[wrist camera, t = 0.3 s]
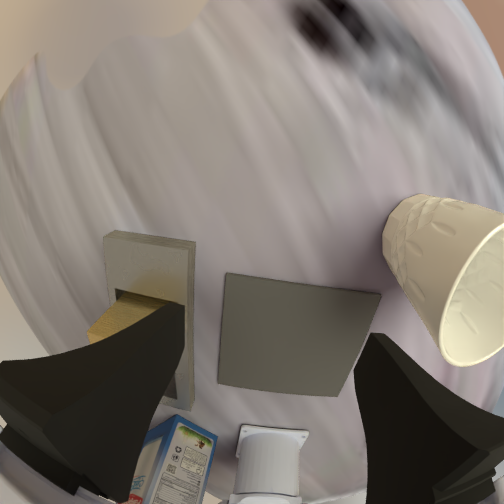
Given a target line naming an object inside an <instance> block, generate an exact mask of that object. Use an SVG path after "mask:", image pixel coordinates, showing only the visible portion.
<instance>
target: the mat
mask: <svg viewBox="0 0 504 504" xmlns="http://www.w3.org/2000/svg"><path fill="white" fill-rule="evenodd" d="M380 298H381V294H377V293H369V292H361V291H353V290H345V289H337V288H330V287H322V286H315V285H308V284H301V283H294V282H287V281H280V280H273V279H266V278H259V277H253V276H246V275H240V274H233V273H227V274H226V284H225V296H224V308H223V320H222V333H221V346H220V360H219V375H218V384H223V385H228V386H234V387H240V388H246V389H253V390H260V391H268V392H276V393H286V394H296V395H309V396H328V397H338V395H339V393H340V391H341V389H342V387H343V385H344V383H345V381H346V379H347V377H348V375H349V373H350V371H351V369H352V367H353V364H354V362H355V360H356V358H357V356H358V353H359V351H360V349H361V347H362V344H363V342H364V340H365V337H366V335H367V332H368V330H369V327H370V325H371V322H372V320H373V317H374V315H375V312H376V309H377V307H378V304H379V301H380Z"/></svg>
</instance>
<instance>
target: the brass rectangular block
mask: <svg viewBox="0 0 504 504" xmlns="http://www.w3.org/2000/svg"><path fill="white" fill-rule="evenodd" d="M169 302H172V303H177V304H178V302H174V301H169V300H164V299H160V298H155V297H151V296H146V295H142V294H137V293H133V292H129V291H126V292H125V293H124V294H123V295H122V296H121V297H120V298H119V299H118V300H117V301H116V302H115V303H114V304H113V305H112V306H111V307H110V308H109V309H108V310H107V311H106V312H105V313H104V314H103V315H102V316H101V317H100V318H99V319H98V320H97V321H96V322H95V324H94V325H93V326H92V327H91V328H90V329H89V330H88V331H87V334H88V338H89V342H90V344H93V343H95V342H98V341H100V340H103V339H105V338H107V337H109V336H111V335H113V334H115V333H117V332H119V331H121V330H123V329H125V328H127V327H129V326H131V325H132V324H134V323H136V322H138V321H139V320H141V319H143V318H144V317H146V316H148V315H149V314H151V313H153V312H154V311H156V310H157V309H159V308H161V307H162V306H164V305H166V304H167V303H169Z"/></svg>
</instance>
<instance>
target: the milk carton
mask: <svg viewBox="0 0 504 504" xmlns="http://www.w3.org/2000/svg"><path fill="white" fill-rule="evenodd" d="M217 438H218V436H216V435H214V434H212V433H210V432H208V431H206V430H204V429H202V428H200V427H199V426H197V425H195V424H193V423H191V422H190V421H188V420H186V419H184V418H183V417H181V416H179V415H175V416H173V417H172V418H170V419H168V420H167V421H165V422H163V423H162V424H160V425H158V426H157V427H155V428H153V429H151V430H150V431H148V432H147V434H146V437H145V440H144V443H143V446H142V449H141V452H140V455H139V459H138V462H137V466H136V470H135V473H134V477H133V482H132V486H131V491H130V495H129V500H128V501H127V502H124V503H117V502H116V504H202V501H203V497H204V492H205V488H206V484H207V480H208V476H209V472H210V467H211V463H212V459H213V455H214V450H215V446H216V442H217Z"/></svg>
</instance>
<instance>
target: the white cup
mask: <svg viewBox="0 0 504 504" xmlns="http://www.w3.org/2000/svg"><path fill="white" fill-rule="evenodd" d="M382 245H383V256H384V258H385V260H386V262H387V264H388V266H389V268H390V270H391V271H392V273H393V274H394V275H395V277H396V279H397V281H398V283H399V285H400V286H401V288H402V289H403V291H404V292H405V294H406V296H407V298H408V299H409V301H410V302H411V304H412V306H413V307H414V309H415V310H416V312H417V313H418V315H419V317H420V318H421V320H422V321H423V323H424V325H425V326H426V328H427V330H428V331H429V333H430V335H431V336H432V338H433V340H434V342H435V343H436V345H437V347H438V349H439V351H440V352H441V354H442V356H443V358H444V359H445V360H446V361H447V362H448V363H450V364H452V365H454V366H458V367H466V366H472V365H475V364H478V363H480V362H482V361H484V360H486V359H488V358H490V357H491V356H493V355H494V354H495V353H497V352H498V351H499V350H500V349H502V348H503V347H504V213H500V212H497V211H494V210H491V209H488V208H485V207H482V206H479V205H476V204H472V203H466V202H463V201H460V200H454V199H450V198H439V197H435V196H430V195H425V194H417V195H415V196H412V197H409V198H407V199H404V200H403V201H402V202H401V203H400V204H399V205H398V206H397V207H396V208H395V209H394V210H393V211H392V212H391V213H390V215H389V217H388V220H387V223H386V225H385V228H384V231H383V233H382Z"/></svg>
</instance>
